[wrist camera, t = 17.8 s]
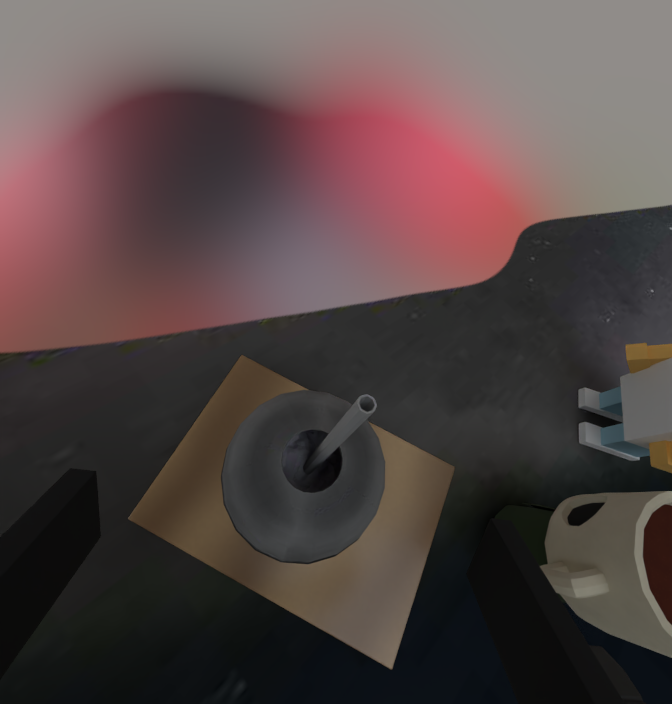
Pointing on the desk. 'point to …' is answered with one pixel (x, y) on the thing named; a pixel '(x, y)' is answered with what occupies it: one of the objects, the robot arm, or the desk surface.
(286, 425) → the beverage cup
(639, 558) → the character mug
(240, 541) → the cork mat
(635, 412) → the character figure
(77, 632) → the desk surface
